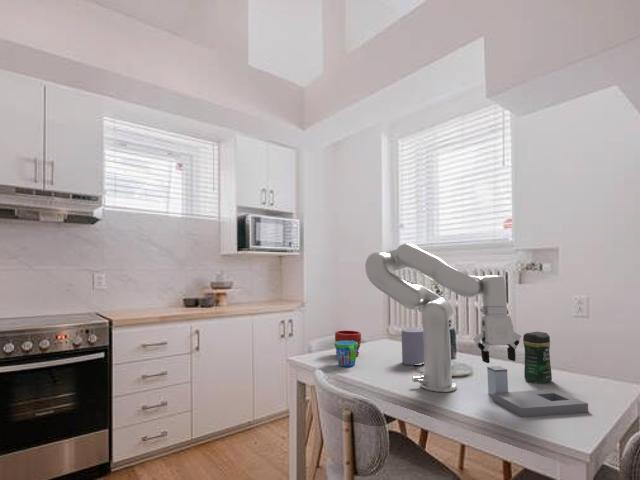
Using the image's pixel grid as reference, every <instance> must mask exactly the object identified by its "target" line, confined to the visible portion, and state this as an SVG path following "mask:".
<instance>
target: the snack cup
mask: <svg viewBox="0 0 640 480" xmlns="http://www.w3.org/2000/svg"><path fill="white" fill-rule="evenodd" d="M357 346H358V343H357V342H355V341H353V340H352V341H347V340H346V341H338V342H334V347H335V353H336V352H337V354H336V358H337V364H338V366H340V367H346V368H347V367H354V366H355V365H356V360H357V356H356V351H357Z"/></svg>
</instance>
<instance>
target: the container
mask: <svg viewBox="0 0 640 480" xmlns="http://www.w3.org/2000/svg"><path fill="white" fill-rule="evenodd" d="M401 358H402V360H401V361H402V364H404V365H405V366H410V367H415V366H414V365H415V364H419V363H423V362H424V337H423V329H421V328H403V329H401Z"/></svg>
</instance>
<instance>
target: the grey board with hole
mask: <svg viewBox="0 0 640 480" xmlns="http://www.w3.org/2000/svg"><path fill="white" fill-rule="evenodd" d="M492 397H493V402H494V403H496V404H498V405H500V406H503V408H505V409H507V410H509V411H511V412H513V413H515V414H516V415H518V416H519V417H521V418H526V417H527V418H528V417H541V416H553V415H565V414H567V415H569V414H577V413H578V414H579V413H589V403H588V402H586V401H583V400H581V399H578V398H576V397H574V396H571V395H569V394H566V393H564V392H561V391H559V390H557V389H554V388H549V389H536V390H534V389H533V390H518V391H508V392H501V393H493V396H492Z"/></svg>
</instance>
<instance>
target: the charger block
mask: <svg viewBox="0 0 640 480" xmlns="http://www.w3.org/2000/svg"><path fill="white" fill-rule="evenodd" d="M486 371H487V372H486V373H487V389H488V391H487V392H488V394H489V395H490V396H492V397H493V393H501V392H509V384H508V383H509V381H508V379H509V378H508V369H507V368H505V367H502V366H500V365H494V366H486Z"/></svg>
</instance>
